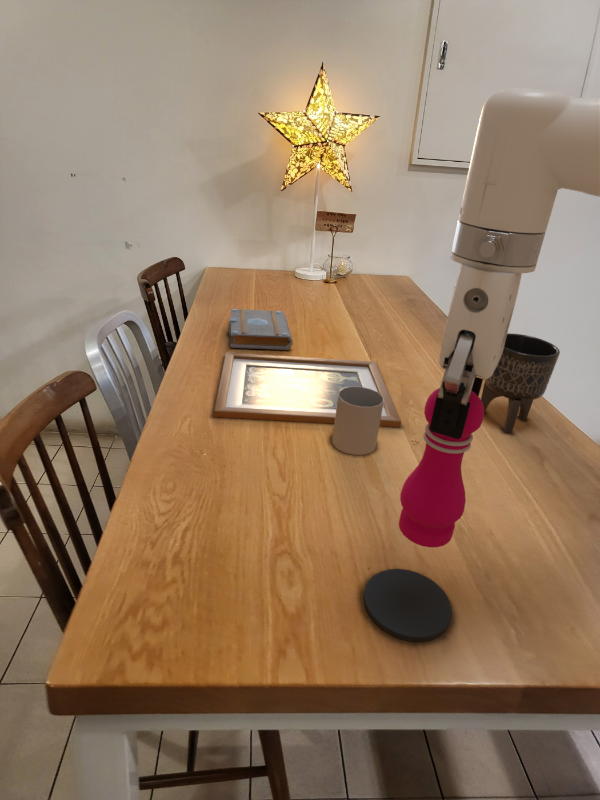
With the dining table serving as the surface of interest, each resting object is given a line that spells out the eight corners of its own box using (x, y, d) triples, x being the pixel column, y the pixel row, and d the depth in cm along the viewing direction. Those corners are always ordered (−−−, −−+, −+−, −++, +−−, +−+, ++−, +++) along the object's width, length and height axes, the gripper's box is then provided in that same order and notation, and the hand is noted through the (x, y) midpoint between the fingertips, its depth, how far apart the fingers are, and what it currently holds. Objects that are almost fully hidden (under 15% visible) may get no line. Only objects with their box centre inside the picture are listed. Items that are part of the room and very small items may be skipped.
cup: (364, 460, 98) (372, 411, 94) (324, 445, 101) (330, 398, 97) (381, 440, 105) (390, 395, 100) (344, 427, 108) (350, 382, 104)
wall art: (225, 351, 134) (375, 361, 137) (225, 357, 135) (374, 366, 138) (213, 410, 107) (401, 421, 110) (213, 417, 107) (400, 427, 110)
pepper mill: (467, 532, 64) (512, 379, 55) (434, 560, 59) (477, 398, 50) (416, 502, 68) (450, 356, 59) (382, 526, 63) (412, 371, 54)
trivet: (422, 567, 75) (423, 562, 75) (467, 631, 66) (469, 626, 65) (350, 580, 71) (350, 576, 71) (387, 650, 62) (388, 645, 62)
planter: (540, 440, 111) (567, 360, 103) (476, 429, 112) (498, 350, 104) (528, 411, 122) (551, 338, 114) (470, 402, 124) (489, 329, 116)
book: (291, 351, 142) (293, 333, 140) (228, 348, 140) (229, 330, 138) (284, 324, 161) (286, 308, 158) (229, 322, 158) (229, 305, 156)
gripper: (528, 271, 40) (472, 471, 48) (547, 241, 54) (501, 400, 62) (430, 253, 43) (393, 445, 51) (472, 230, 57) (437, 383, 65)
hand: (453, 419), depth 57 cm, fingers closed on pepper mill, 6 cm apart
